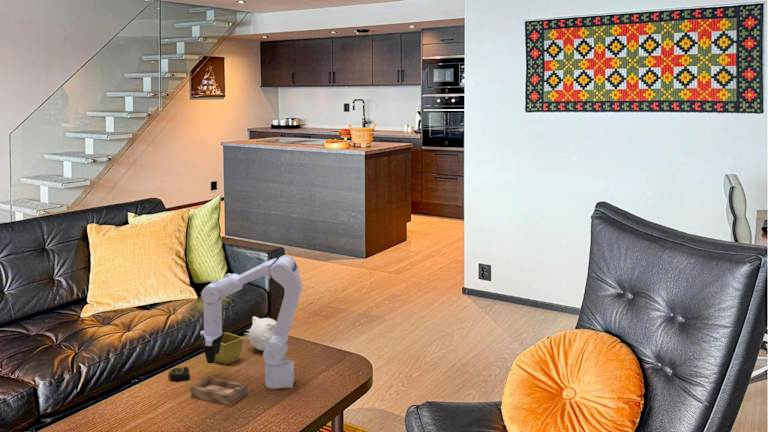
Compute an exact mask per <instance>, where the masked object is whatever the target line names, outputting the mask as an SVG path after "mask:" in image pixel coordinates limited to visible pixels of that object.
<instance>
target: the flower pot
mask: <svg viewBox="0 0 768 432" xmlns="http://www.w3.org/2000/svg"><path fill="white" fill-rule="evenodd" d="M243 338H244V337H242V336H239V335H236V334H232V333H230V332H224V335H223V337H222V340H221V344H220V350H219V353H218V354H216V356H215V361H216V363H219V364H222V365H224V366H227V365H229V364H232V363H234V362H237V361H238V360H239V357H240V355H241V353H242V350H243V340H244V339H243Z"/></svg>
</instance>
